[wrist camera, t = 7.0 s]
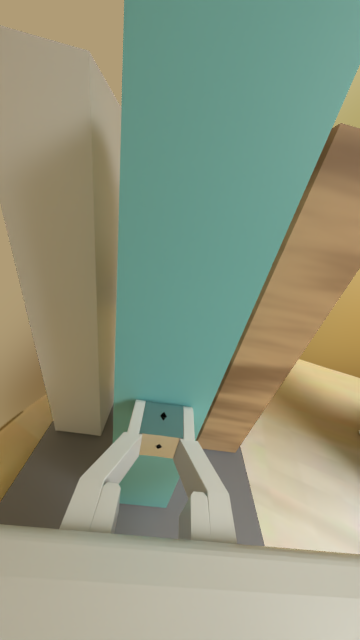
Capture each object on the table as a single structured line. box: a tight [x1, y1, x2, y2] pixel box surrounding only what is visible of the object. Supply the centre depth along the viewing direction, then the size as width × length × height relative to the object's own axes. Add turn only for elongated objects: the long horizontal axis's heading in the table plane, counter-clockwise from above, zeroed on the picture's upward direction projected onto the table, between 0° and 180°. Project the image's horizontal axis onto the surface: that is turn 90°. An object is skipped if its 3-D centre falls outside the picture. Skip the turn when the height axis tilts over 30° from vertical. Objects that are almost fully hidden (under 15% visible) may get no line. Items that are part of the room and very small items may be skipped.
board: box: [0, 403, 264, 546], centre depth 20 cm, size 16×23×2 cm
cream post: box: [0, 25, 122, 436], centre depth 16 cm, size 5×5×28 cm
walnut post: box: [196, 123, 360, 453], centre depth 17 cm, size 5×5×28 cm
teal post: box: [113, 0, 360, 508], centre depth 12 cm, size 5×5×28 cm
